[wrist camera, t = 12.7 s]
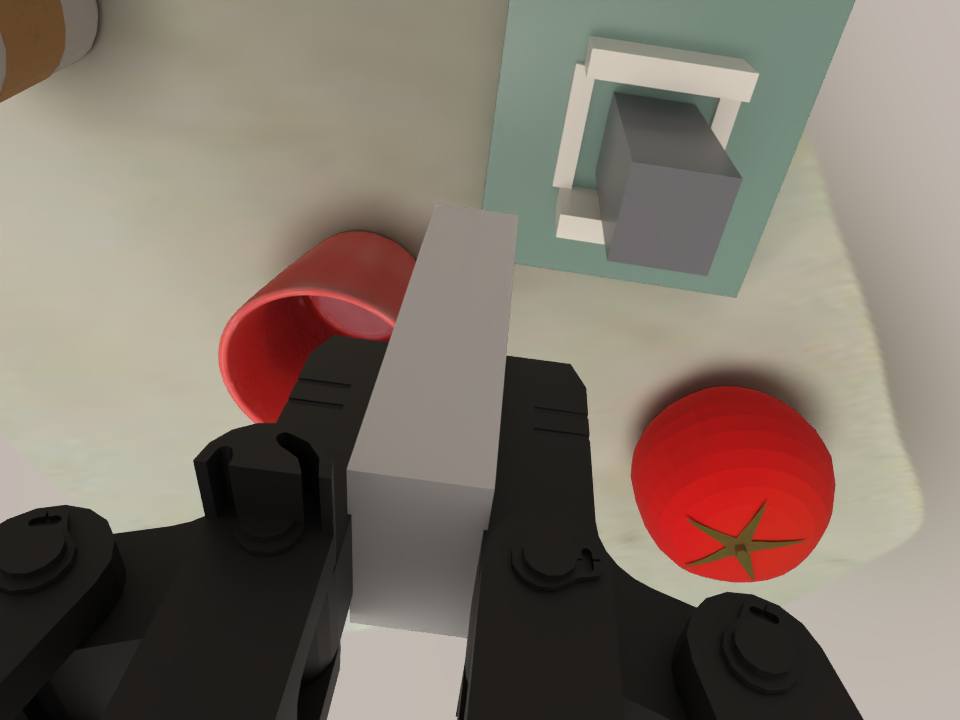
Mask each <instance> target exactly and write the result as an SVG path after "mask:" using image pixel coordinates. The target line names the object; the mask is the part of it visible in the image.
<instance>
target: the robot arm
mask: <svg viewBox="0 0 960 720" xmlns="http://www.w3.org/2000/svg"><path fill="white" fill-rule="evenodd" d="M517 227H518V215H517V214H509V213H502V212H494V211H487V210H479V209H471V208H464V207H456V206H449V205H441V204H435V207H434V210H433V213H432V216H431V219H430V222H429V225H428V228H427V231H426V234H425V236H424V239H423V242H422V245H421V248H420V251H419V254H418V257H417V260H416V263H415V266H414V269H413V272H412V275H411V278H410V281H409V284H408V287H407V290H406V293H405V296H404V299H403V302H402V305H401V308H400V311H399V314H398V317H397V320H396V323H395V326H394V329H393V332H392V335H391V338H390V341H389V342H383V341H376V340H368V339H360V338H353V337H345V336H338V335H333V336H332V337H331V338H329V339H328V340H327V341H325V342H324V343H323V344H322V345H320V346H319V347H318V348H317V349H315V350H314V351H313V352H311V353H310V355H309V357H308V359H307V361H306V363H305V365H304V367H303V369H302V371H301V373H300V375H299V377H298V382H296V383H295V385H294V387H293V389H292V391H291V394H290V396H289V400H288V403H286V404H285V406H284V408H283V410H282V412H281V414H280V416H279V418H278V420H277V422H276V423H256V424H252V425H249V426H245V427H241V428H237V429H233V430H231V431H229V432H227V433H225V434H224V435H222V436H220V437H218V438H217V439H215V440H213V441H211V442H210V443H209V444H208V445H207V446H206V447H205V448H204V449H203V450H202V451H201V452H200V454H199V455H198V456H197V457H196V458H195V459H194V460H193V462H194V467H195V471H196V476H197V480H198V485H199V490H200V494H201V499H202V503H203V508H204V513H205V516H204V517H201V518H199V519H197V520H194V521H192V522H187V523H183V524H178V525H174V526H169V527H161V528H154V529H146V530H139V531H131V532H124V533H117V534H113V533H112V531H111V528H110V526H109V523H108V521H107V520H106V519H104V518H103V517H101V516H100V515H98V514H97V513H95V512H94V511H92V510H91V509H86V508H80V507H74V506H69V505H61V506H53V507H45V508H38V509H34V510H32V511H29V512H26V513H23V514H21V515H18V516H15V517H13V518H10V519H7V520H6V521H4V522H2V523H1V524H0V720H327V716H328V712H329V708H330V704H331V701H332V697H333V693H334V689H335V685H336V681H337V677H338V673H339V670H340V651H341V646H340V639H341V635H342V632H343V628H344V624H345V621H346V617H347V613H348V610H349V606H350V622H352V623H359V624H367V625H374V626H381V627H389V628H396V629H404V630H411V631H419V632H427V633H434V634H442V635H448V636H456V637H463V638H468V639H467V648H466V658H465V665H464V671H463V677H462V683H461V689H460V695H459V701H458V706H457V712H456V717H458V718H457V720H863V718H862V716H861V714H860V713H859V711H858V709H857V708H856V706H855V704H854V702H853V701H852V699H851V697H850V696H849V694H848V692H847V690H846V689H845V687H844V685H843V684H842V682H841V680H840V678H839V677H838V675H837V673H836V672H835V670H834V669H833V666H832V665H831V663H830V661H829V660H828V658H827V656H826V654H825V653H824V651H823V649H822V648H821V646H820V645H819V644H818V643H817V641H816V640H815V639H814V638H813V637H812V635H811V634H810V632H809V631H808V630H807V629H806V627H805V626H804V625H803V624H802V623H801V622H800V621H798V620H797V619H796V618H794V617H793V616H792V615H790V614H789V613H788V612H786V611H785V610H783V609H782V608H781V607H780V606H779V605H776V604H774V603H771V602H769V601H767V600H764V599H762V598H759V597H757V596H755V595H752V594H742V593H732V592H725V593H722V594H719V595H715V596H712V597H709V598H706V599H705V600H704V601H703V602H702V603H701V604H700V605H699V606H698V607H697V608H696V607H694V606H691V605H689V604H687V603H685V602H682V601H680V600H678V599H675V598H673V597H671V596H668V595H666V594H664V593H661V592H659V591H657V590H654V589H652V588H650V587H648V586H647V585H645V584H643V583H641V582H639V581H637V580H636V579H634V578H633V577H631V576H630V575H629V574H628V573H626V572H625V571H624V570H623V569H622V568H620V567H619V566H618V565H617V564H616V562H615V561H614V560H613V559H612V558H611V556H610V555H609V554H608V553H607V552H606V550H605V548H604V546H603V544H602V542H601V540H600V538H599V535H598V531H597V526H596V522H595V507H594V493H593V479H592V465H591V450H590V441H589V422H588V419H587V416H588V408H587V394H586V387H585V386H584V384H583V382H582V381H581V379H580V378H579V376H578V375H577V373H576V372H575V370H574V369H573V367H572V366H571V364H566V363H558V362H551V361H543V360H536V359H528V358H521V357H513V356H506V353H507V341H508V330H509V319H510V307H511V296H512V284H513V273H514V261H515V250H516V238H517Z"/></svg>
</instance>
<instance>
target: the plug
mask: <svg viewBox="0 0 960 720" xmlns="http://www.w3.org/2000/svg"><path fill="white" fill-rule="evenodd" d="M595 175H596V182H597V190H598V197H599V205H600V213H601V220H602V228H603V235H604V243H605V250H606V258H607V261H611V262H618V263H624V264H631V265H637V266H644V267H650V268H657V269H663V270H670V271H676V272H683V273H689V274H696V275H702V276H708V273H709V270H710V268H711V265H712V262H713V259H714V257H715V254H716V251H717V248H718V246H719V243H720V240H721V237H722V235H723V232H724V229H725V226H726V224H727V221H728V218H729V215H730V213H731V210H732V207H733V204H734V202H735V199H736V196H737V193H738V191H739V188H740V185H741V182H742V180H743V178H742V177H741V175H740V174H739V172H738V170H737V169H736V167H735V166H734V164H733V162H732V161H731V159H730V158H729V156H728V155H727V153H726V151H725V150H724V148H723V147H722V145H721V144H720V142H719V140H718V139H717V137H716V136H715V134H714V132H713V131H712V129H711V128H710V126H709V125H708V123H707V121H706V120H705V118H704V117H703V115H702V114H701V112H700V110H699V109H698V107H697V106H696V105H694V104H687V103H681V102H674V101H668V100H661V99H655V98H648V97H642V96H635V95H628V94H622V93H615V92H614V93H613V97H612V101H611V106H610V110H609V115H608V119H607V123H606V128H605V132H604V136H603V141H602V145H601V149H600V154H599V158H598V163H597V167H596V171H595Z"/></svg>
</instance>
